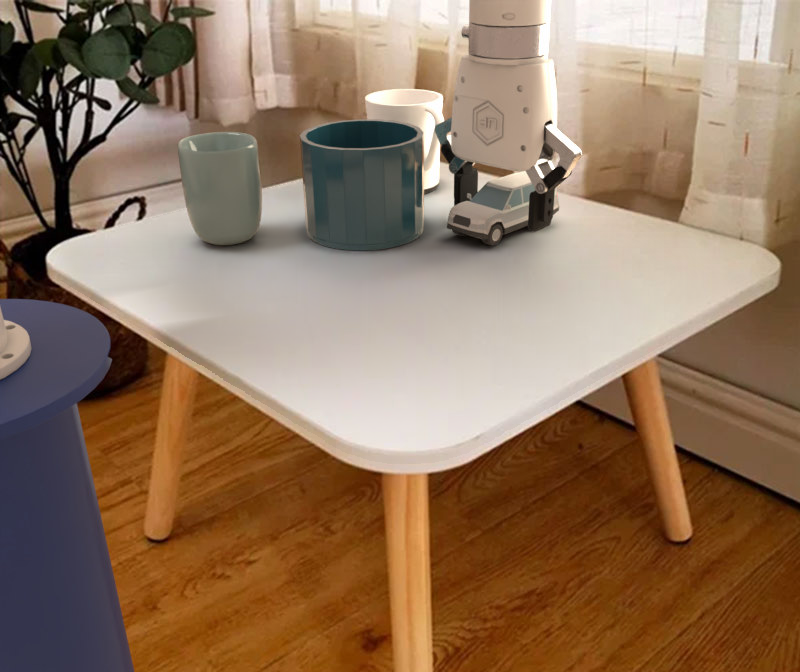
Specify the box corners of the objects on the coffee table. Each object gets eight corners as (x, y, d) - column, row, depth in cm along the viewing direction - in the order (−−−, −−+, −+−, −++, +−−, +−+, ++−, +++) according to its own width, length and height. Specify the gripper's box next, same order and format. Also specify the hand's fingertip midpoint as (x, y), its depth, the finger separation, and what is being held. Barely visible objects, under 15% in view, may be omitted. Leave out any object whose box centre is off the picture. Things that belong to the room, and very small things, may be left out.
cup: (258, 223, 101) (250, 128, 96) (272, 246, 95) (264, 147, 90) (185, 231, 99) (172, 135, 94) (194, 256, 93) (181, 155, 88)
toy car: (439, 238, 96) (439, 190, 93) (520, 209, 104) (522, 164, 101) (481, 252, 92) (483, 203, 90) (562, 221, 100) (565, 174, 97)
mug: (352, 185, 112) (349, 96, 107) (409, 171, 117) (408, 85, 112) (411, 206, 105) (410, 112, 100) (469, 190, 110) (471, 100, 105)
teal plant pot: (367, 259, 91) (363, 156, 86) (282, 232, 98) (274, 136, 93) (447, 227, 99) (448, 131, 94) (363, 204, 106) (360, 113, 101)
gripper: (413, 38, 91) (414, 210, 100) (564, 57, 81) (551, 247, 90) (461, 29, 96) (458, 193, 105) (609, 46, 86) (593, 226, 95)
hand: (501, 218), depth 97 cm, fingers open, 9 cm apart
